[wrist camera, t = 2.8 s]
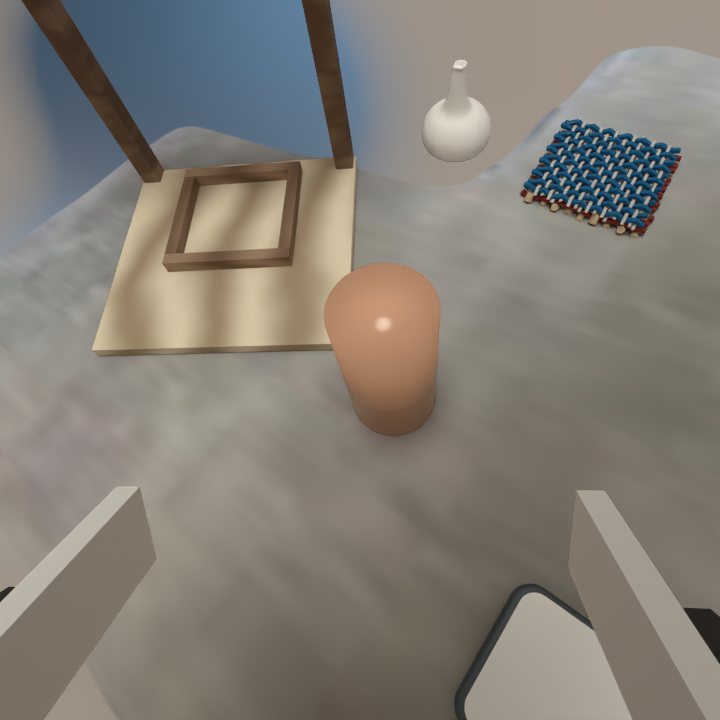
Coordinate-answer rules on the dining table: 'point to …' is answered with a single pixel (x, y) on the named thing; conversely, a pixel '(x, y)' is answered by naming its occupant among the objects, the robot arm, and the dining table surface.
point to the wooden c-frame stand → (224, 226)
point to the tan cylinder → (386, 344)
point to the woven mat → (603, 176)
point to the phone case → (540, 666)
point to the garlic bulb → (456, 122)
